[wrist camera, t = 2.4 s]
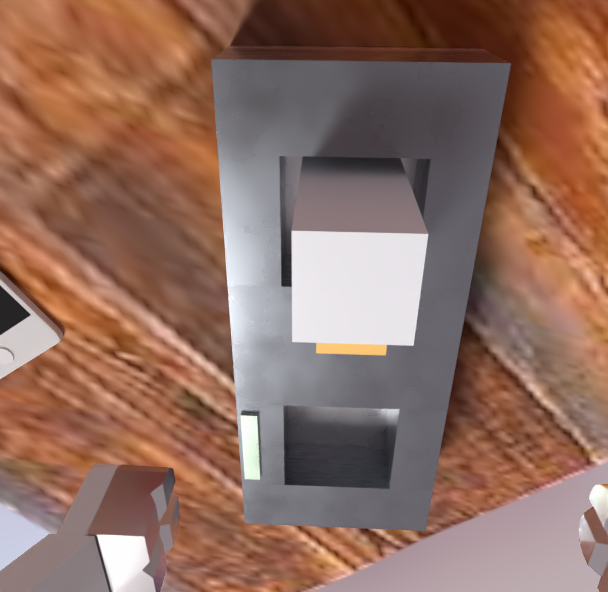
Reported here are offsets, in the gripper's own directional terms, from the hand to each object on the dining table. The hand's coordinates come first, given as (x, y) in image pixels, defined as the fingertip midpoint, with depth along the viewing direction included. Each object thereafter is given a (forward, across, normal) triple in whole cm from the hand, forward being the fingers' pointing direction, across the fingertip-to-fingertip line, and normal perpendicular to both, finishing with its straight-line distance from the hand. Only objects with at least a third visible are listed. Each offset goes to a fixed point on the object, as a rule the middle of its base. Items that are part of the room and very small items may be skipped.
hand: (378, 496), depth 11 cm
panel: (+17, 0, +5) cm, 18 cm away
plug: (+15, 0, -1) cm, 16 cm away
